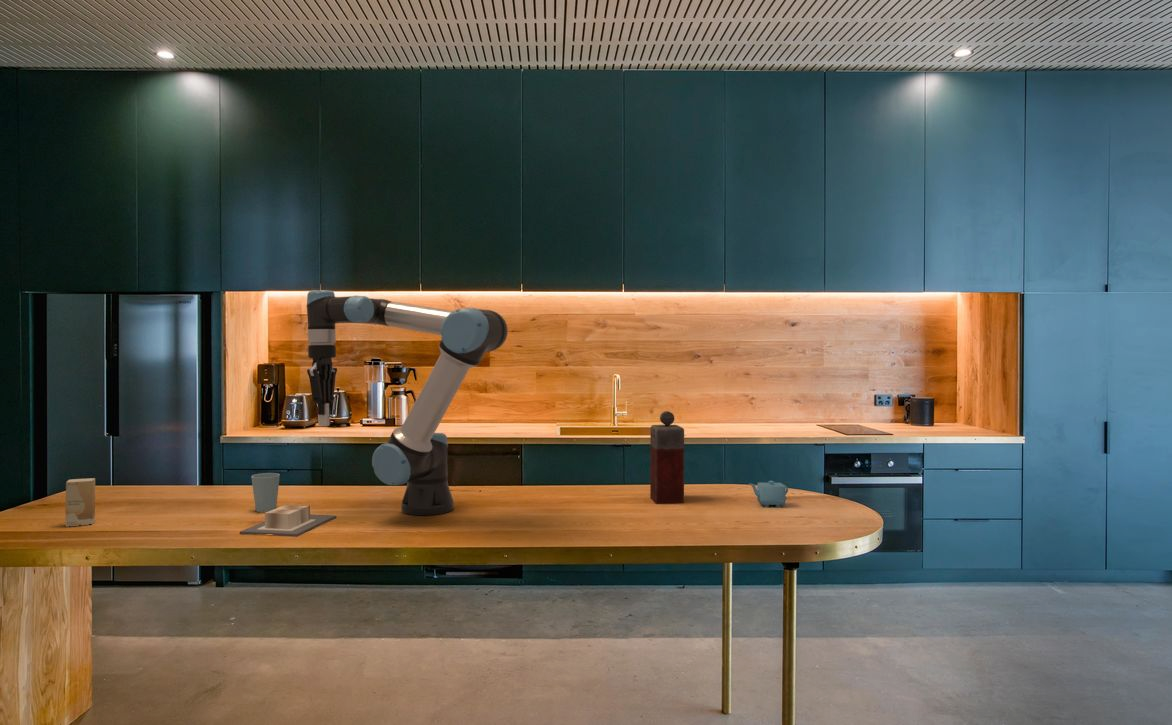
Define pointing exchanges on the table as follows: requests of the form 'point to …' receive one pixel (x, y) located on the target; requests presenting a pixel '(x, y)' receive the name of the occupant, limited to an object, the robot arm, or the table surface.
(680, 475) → the pepper mill
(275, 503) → the cup
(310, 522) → the mat
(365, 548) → the table surface
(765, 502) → the teapot
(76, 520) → the skincare box
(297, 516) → the block
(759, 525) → the table surface
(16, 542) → the table surface
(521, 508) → the table surface
